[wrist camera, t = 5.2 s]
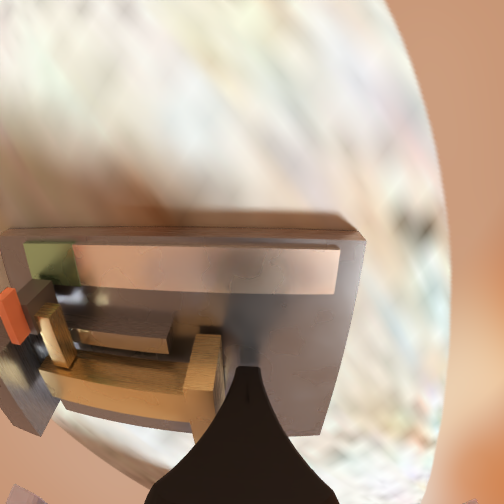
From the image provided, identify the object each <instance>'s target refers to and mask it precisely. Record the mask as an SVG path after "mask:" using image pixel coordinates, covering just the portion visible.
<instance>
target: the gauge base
mask: <svg viewBox="0 0 504 504" xmlns="http://www.w3.org/2000/svg"><path fill="white" fill-rule="evenodd" d="M365 246H366V240H365V238H364V237H363V236H362V235H361V234H360V232H359V231H343V230H313V229H277V228H227V227H65V228H19V229H8V230H6V231H5V232H3V233H1V234H0V251H1V255H2V259H3V262H4V266H5V269H6V273H7V276H8V279H9V282H10V285H11V288H15V290H16V293H17V292H18V291H19V290H20V289H22V288H23V287H24V286H25V285H26V284H27V283H28V282H29V281H30V280H31V279H41V280H52V283H53V287H54V290H55V294H56V297H57V300H58V304H60V305H61V308H62V311H63V314H64V317H65V320H66V323H67V326H68V329H69V332H70V335H71V337H72V340H73V343H74V345H75V348H76V349H81V350H86V351H92V352H99V353H105V354H112V355H119V356H126V357H134V358H143V359H152V360H161V361H172V362H184V363H189V361H190V357H191V353H192V349H193V345H194V341H195V337H196V334H212V335H221V339H222V357H223V374H224V389H225V397H226V395H227V393H228V391H229V389H230V386H231V384H232V381H233V378H234V375H235V371H236V368H237V367H238V366H258V367H259V368H261V375H262V380H263V384H264V387H265V390H266V393H267V396H268V398H269V401H270V403H271V406H272V408H273V410H274V412H275V415H276V417H277V419H278V420H279V422H280V424H281V426H282V428H283V430H284V431H285V433H286V435H287V436H288V437H289V436H312V435H320V432H321V429H322V426H323V423H324V419H325V416H326V413H327V410H328V407H329V403H330V400H331V397H332V393H333V390H334V386H335V383H336V379H337V376H338V372H339V368H340V365H341V361H342V357H343V353H344V349H345V345H346V341H347V337H348V333H349V328H350V324H351V319H352V315H353V310H354V306H355V301H356V296H357V291H358V286H359V281H360V275H361V270H362V264H363V258H364V252H365ZM48 354H49V352H48V350H47V348H46V345H45V343H44V341H43V338H42V336H41V333H39V334H38V335H35V334H29V335H28V336H27V337H26V339H25V340H24V341H23V342H22V344H21V345H17V344H13V343H12V342H11V340H10V338H9V336H8V333H7V331H6V329H5V326H4V324H3V322H2V319H1V317H0V408H1V409H2V410H3V412H4V413H5V415H6V416H7V417H8V419H9V420H10V421H11V423H12V424H13V425H14V426H16V427H18V428H20V429H23V430H25V431H28V432H30V433H32V434H35V435H38V436H40V437H41V436H42V434H43V431H44V430H45V428H46V426H47V424H48V422H49V420H50V418H51V416H52V414H53V413H54V411H55V409H56V407H57V405H58V403H59V401H60V400H61V401H62V403H63V405H64V406H65V408H66V409H67V410H70V411H74V412H78V413H81V414H85V415H89V416H93V417H98V418H102V419H106V420H111V421H116V422H121V423H126V424H131V425H137V426H142V427H149V428H155V429H162V430H169V431H177V432H186V433H192V429H191V425H190V423H188V422H179V421H170V420H162V419H155V418H149V417H142V416H136V415H130V414H125V413H119V412H114V411H109V410H105V409H100V408H96V407H91V406H87V405H83V404H79V403H75V402H71V401H67V400H64V399H60V398H57V397H53V396H52V394H51V393H50V391H49V389H48V387H47V385H46V384H45V382H44V380H43V378H42V376H41V374H40V372H39V370H38V369H39V367H40V366H41V364H42V363H43V361H44V360H45V358H46V357H47V356H48Z"/></svg>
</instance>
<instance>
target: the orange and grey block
mask: <svg viewBox="0 0 504 504" xmlns="http://www.w3.org/2000/svg"><path fill="white" fill-rule="evenodd" d="M45 303H54V304H58V300H57V297H56V294H55V290H54V287H53V283H52V280H41V279H31V280H30V281H29V282H28V283H27V284H26V285H25V286H24V287H23V288H22V289H20V290H19V291H18V292H17V293H16V290H15V288H8V287H7V288H6V289H5V290H3V291H2V292H1V293H0V317H1V319H2V322H3V324H4V326H5V329H6V331H7V333H8V336H9V338H10V340H11V342H12V343H13V344H17V345H21V344H22V342H23V341H24V340H25V339H26V337H27V336H28V335H29V334H35V335H38V334H39V333H40V331H39V328H38V325H37V323H36V320H35V318H34V315H35V314H36V313H37V312H38V311H39V310H40V308H41V307H42V306H43V305H44V304H45Z"/></svg>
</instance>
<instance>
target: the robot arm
mask: <svg viewBox="0 0 504 504" xmlns="http://www.w3.org/2000/svg"><path fill="white" fill-rule="evenodd" d="M6 504H47V503H45V501H44V500H42V499H41V498H40V497H39V496H37V495H35V494H34V493H32V492H30V491H28V490H26V489H24V488H22V487H20V486H18V485H16V484H14V485H13V488H12V490H11V492H10V495H9V497H8V499H7V502H6ZM144 504H339V502H338V500H337V497H336V495H335V493H334V491H333V490H332V489H331V488H330V487H329V486H328V485H327V484H326V483H324V482H323V481H322V480H321V479H320V477H319V476H318V475H317V474H316V473H315V472H314V471H313V470H312V469H311V468H310V467H309V465H308V464H307V463H306V462H305V460H304V459H303V458H302V457H301V455H300V454H299V453H298V451H297V450H296V449H295V447H294V446H293V444H292V443H291V441H290V440H289V438H288V436H287V435H286V433H285V431H284V430H283V428H282V426H281V424H280V422H279V420H278V419H277V417H276V415H275V412H274V410H273V408H272V406H271V403H270V401H269V398H268V396H267V393H266V390H265V387H264V384H263V380H262V375H261V368H259V367H258V366H238V367H237V368H236V371H235V375H234V378H233V381H232V384H231V386H230V389H229V391H228V393H227V395H226V397H225V399H224V401H223V404H222V405H221V407H220V409H219V411H218V412H217V414H216V416H215V418H214V419H213V421H212V422H211V424H210V426H209V427H208V428H207V430H206V431H205V433H204V434H203V435H202V437H201V438H200V439H199V441H198V442H197V443H196V444H195V446H194V447H193V448H192V449H191V450H190V451H189V453H188V454H187V455H186V456H185V457H184V458H183V459H182V460H181V461H180V462H179V463H178V464H177V465H176V466H175V467H174V468H173V469H172V470H171V471H169V472H168V473H167V474H166V475H165V476H163V477H162V478H161V479H160V480H159V481H157V482H156V483H155V484H154V485H153V486H152V488H151V490H150V492H149V494H148V495H147V498H146V500H145V503H144ZM463 504H478V502H477V500H476V499H472V500H470V501H468V502H466V503H463Z"/></svg>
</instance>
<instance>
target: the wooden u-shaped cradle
mask: <svg viewBox="0 0 504 504" xmlns="http://www.w3.org/2000/svg"><path fill="white" fill-rule="evenodd" d="M34 318H35V320H36V323H37V325H38V328H39V331H40V333H41V336H42V338H43V341H44V343H45V345H46V348H47V350H48V352H49V354H48V356H47V357H46V358H45V360H44V361H43V363H42V364H41V366H40V367H39V369H38V370H39V372H40V374H41V376H42V378H43V380H44V382H45V384H46V385H47V387H48V389H49V391H50V393H51V394H52V396H53V397H57V398H60V399H64V400H67V401H71V402H75V403H79V404H83V405H87V406H91V407H96V408H100V409H105V410H109V411H114V412H119V413H125V414H130V415H136V416H142V417H149V418H155V419H162V420H170V421H179V422H188V423H190V425H191V429H192V433H193V438H194V442H195V444H196V443H197V442H198V441H199V439H200V438H201V437H202V435H203V434H204V433H205V431H206V430H207V428H208V427H209V426H210V424H211V422H212V421H213V419H214V418H215V416H216V414H217V412H218V411H219V409H220V407H221V405H222V404H223V401H224V399H225V389H224V374H223V357H222V339H221V335H212V334H196V337H195V341H194V345H193V349H192V353H191V357H190V361H189V363H184V362H172V361H161V360H152V359H143V358H134V357H126V356H119V355H112V354H105V353H99V352H92V351H86V350H81V349H76V348H75V345H74V343H73V340H72V337H71V335H70V332H69V329H68V326H67V323H66V320H65V317H64V314H63V311H62V308H61V305H60V304H54V303H45V304H44V305H43V306H42V307H41V308H40V310H39V311H38V312H37V313H36V314H35V315H34Z"/></svg>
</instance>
